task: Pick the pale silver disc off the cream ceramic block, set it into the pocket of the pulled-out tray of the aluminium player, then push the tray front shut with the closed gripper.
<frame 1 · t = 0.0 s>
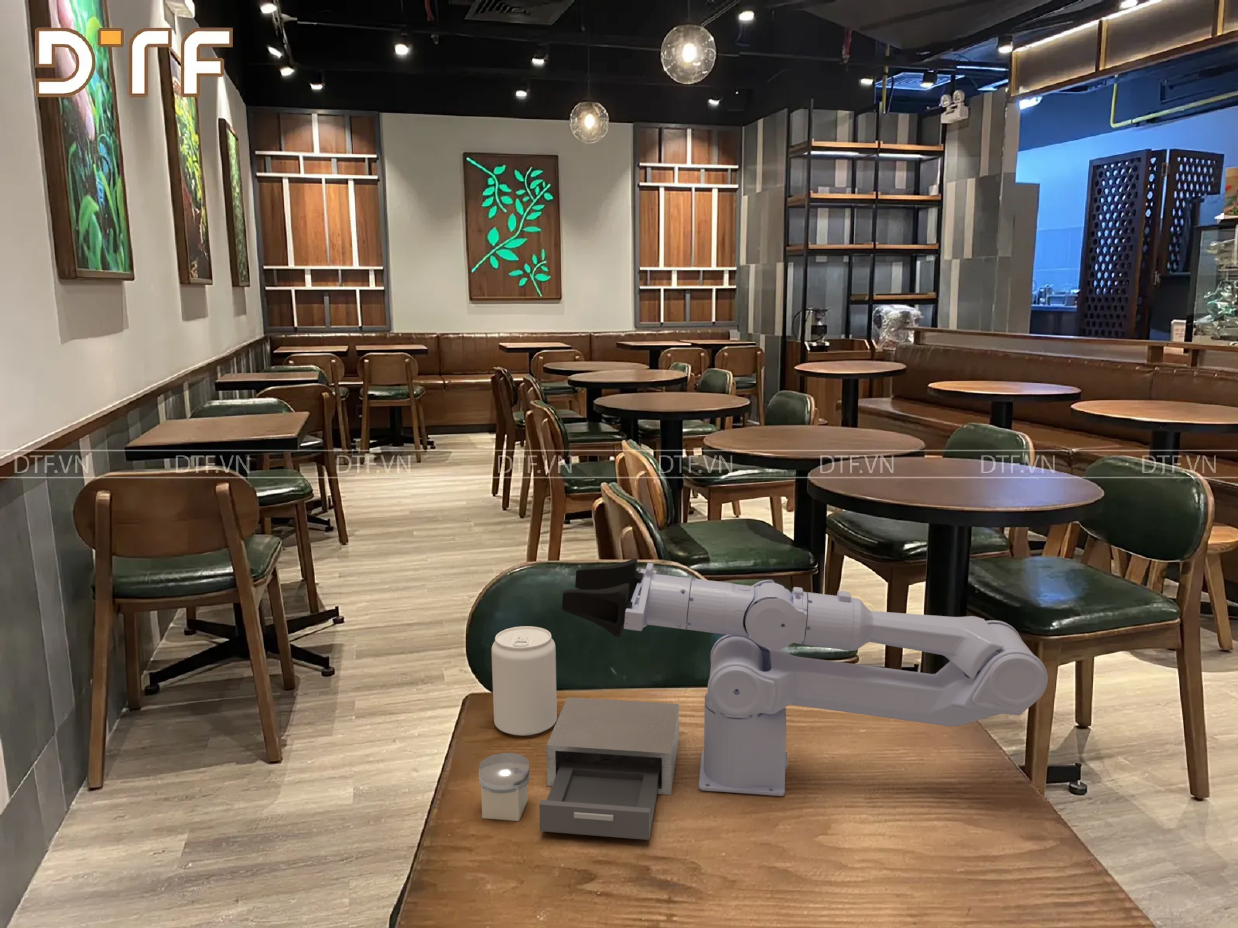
hand: (569, 588, 99), 22 cm above the table, tool horizontal, fingers open, 7 cm apart
beverage can: (525, 725, 113), on the table
disc: (504, 779, 94), point 3 cm above the table, touching riser block
riser block: (505, 808, 94), on the table
tray: (602, 792, 93), point 2 cm above the table, slide at 9.0 cm
player: (616, 762, 104), on the table
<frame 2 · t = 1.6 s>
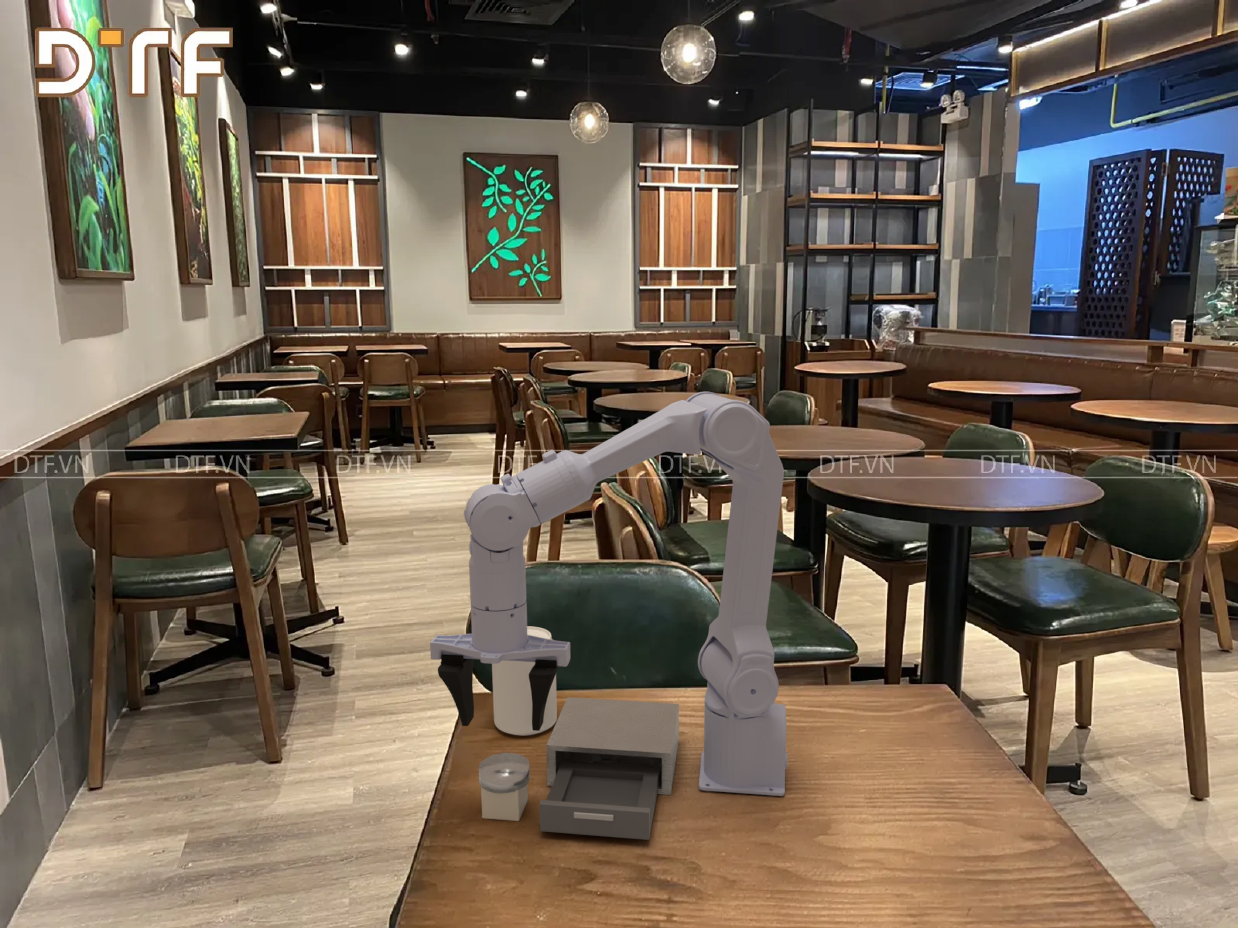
hand: (502, 723, 92), 10 cm above the table, tool pointing down, fingers open, 7 cm apart
nothing on the table moved.
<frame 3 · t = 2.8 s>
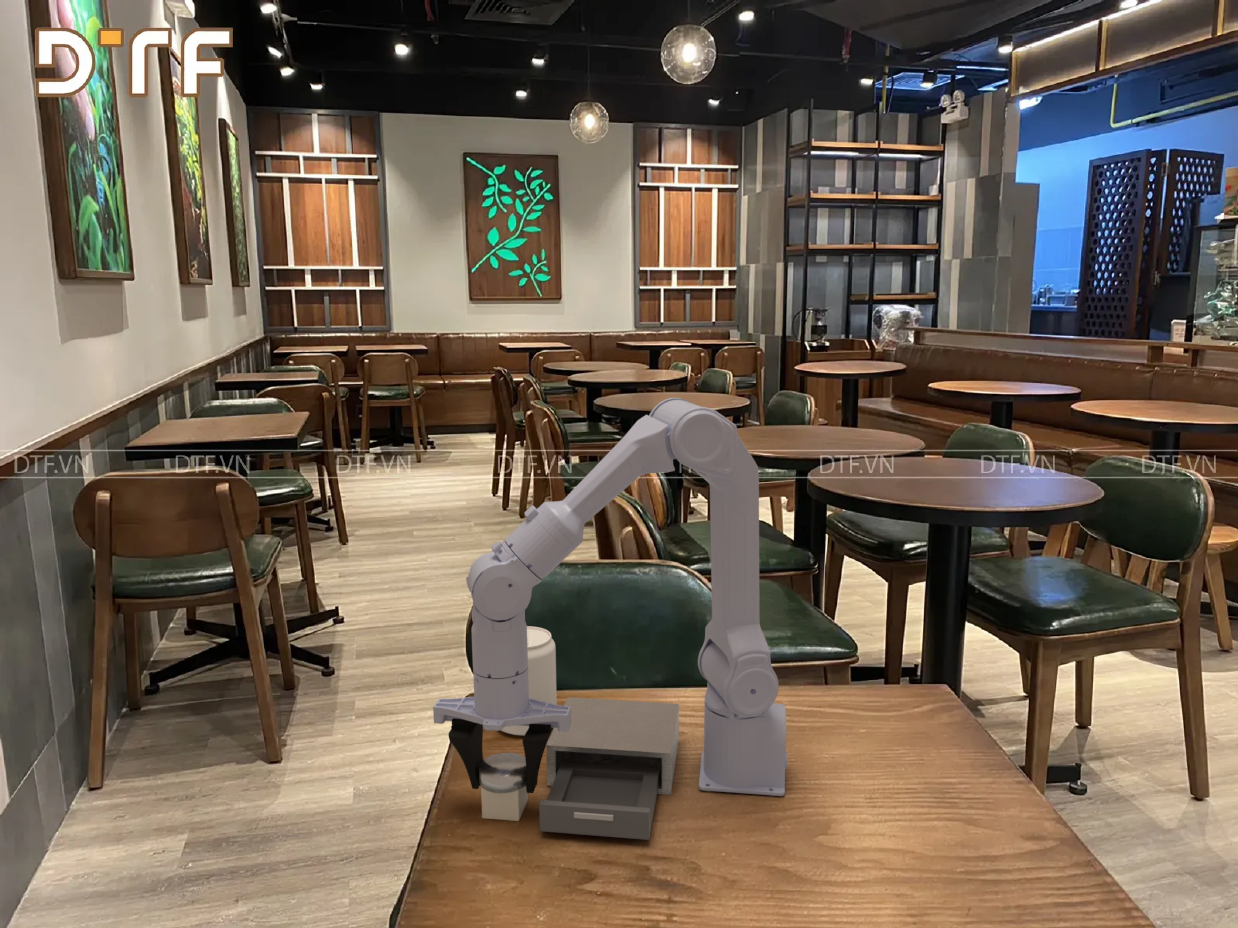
hand: (504, 786, 94), 3 cm above the table, tool pointing down, fingers closed on disc, 5 cm apart
disc: (504, 779, 94), point 3 cm above the table, touching gripper, riser block
everything else where it was.
when the fingers open (3 cm above the table, at t = 6.0 s): disc drops 2 cm, resting on tray.
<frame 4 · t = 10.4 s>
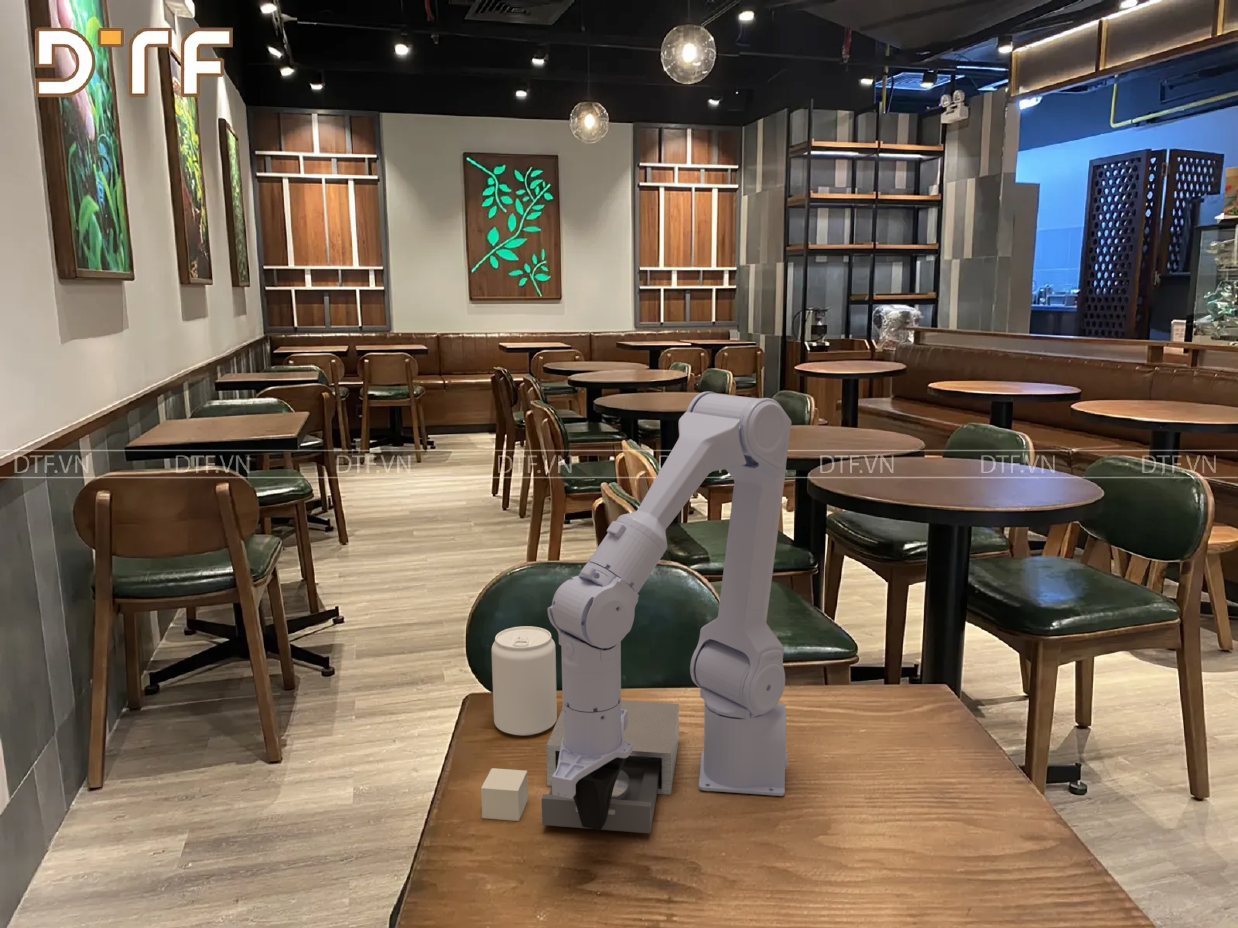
hand: (593, 825, 88), 2 cm above the table, tool pointing down, fingers closed
disc: (604, 793, 95), point 1 cm above the table, touching tray
tray: (604, 786, 94), point 2 cm above the table, slide at 7.9 cm, touching disc, gripper
everything else where it was.
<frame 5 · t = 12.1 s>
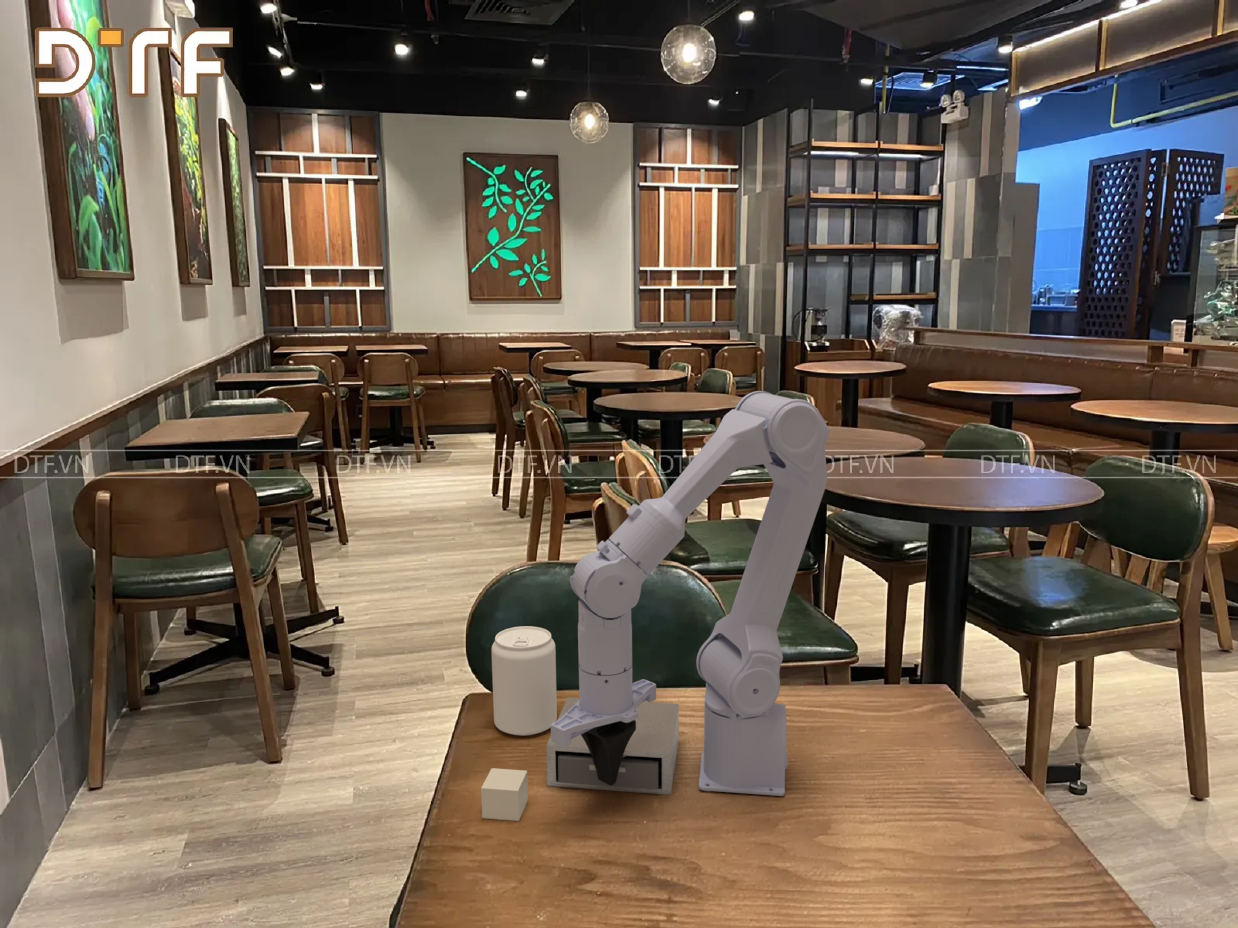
hand: (607, 781, 96), 2 cm above the table, tool pointing down, fingers closed, pressing on tray
disc: (614, 755, 102), point 1 cm above the table, touching tray
tray: (614, 748, 102), point 2 cm above the table, slide at -0.2 cm, touching disc, gripper
everything else where it was.
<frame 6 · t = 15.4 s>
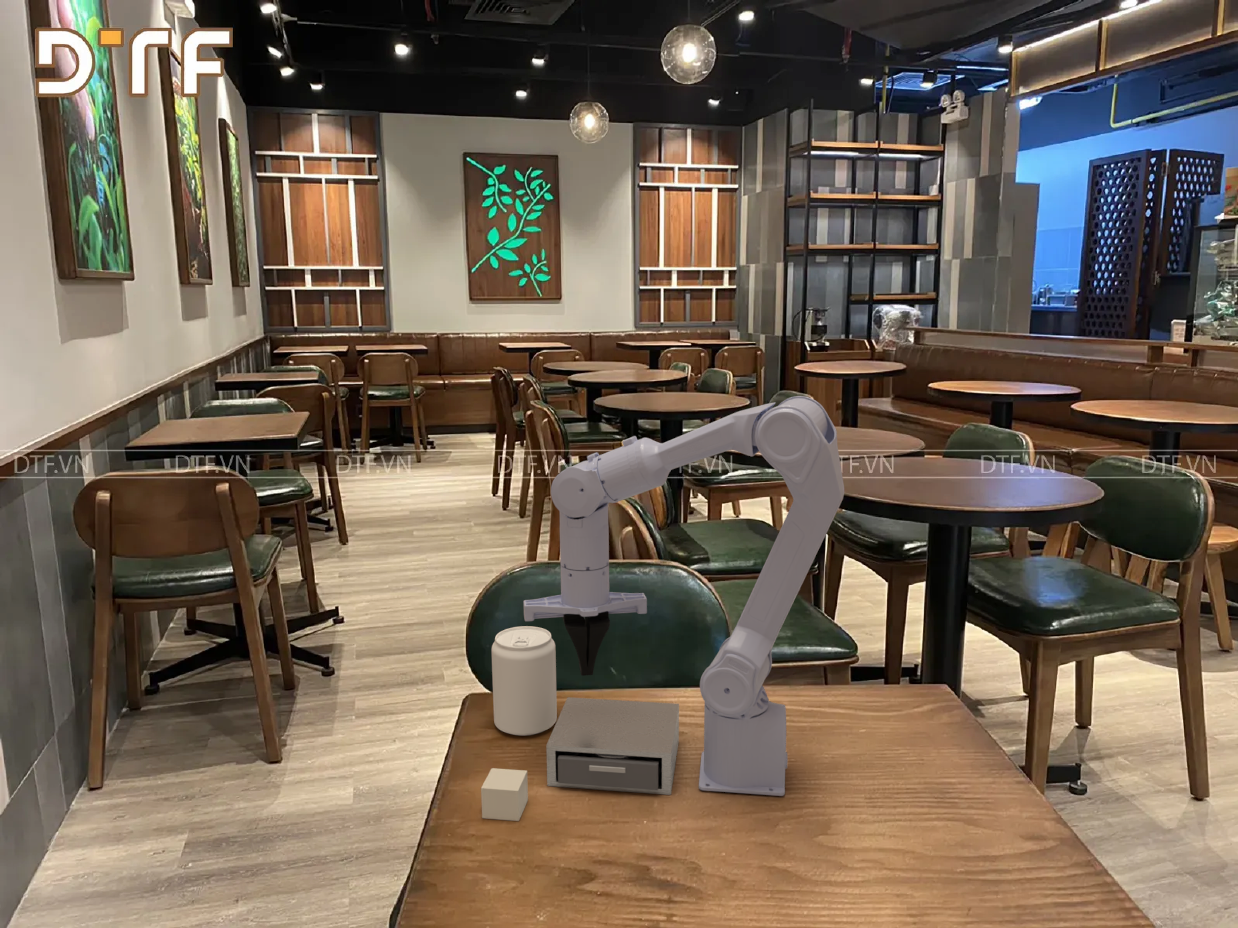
hand: (586, 672, 105), 10 cm above the table, tool pointing down, fingers closed
tray: (614, 749, 102), point 2 cm above the table, slide at 0.0 cm, touching disc
everything else where it was.
at the end: tray slide at 0.0 cm; disc inside the target area on the player (0.4 cm from its centre), point 1.5 cm above the player's base; the gripper is holding nothing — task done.
